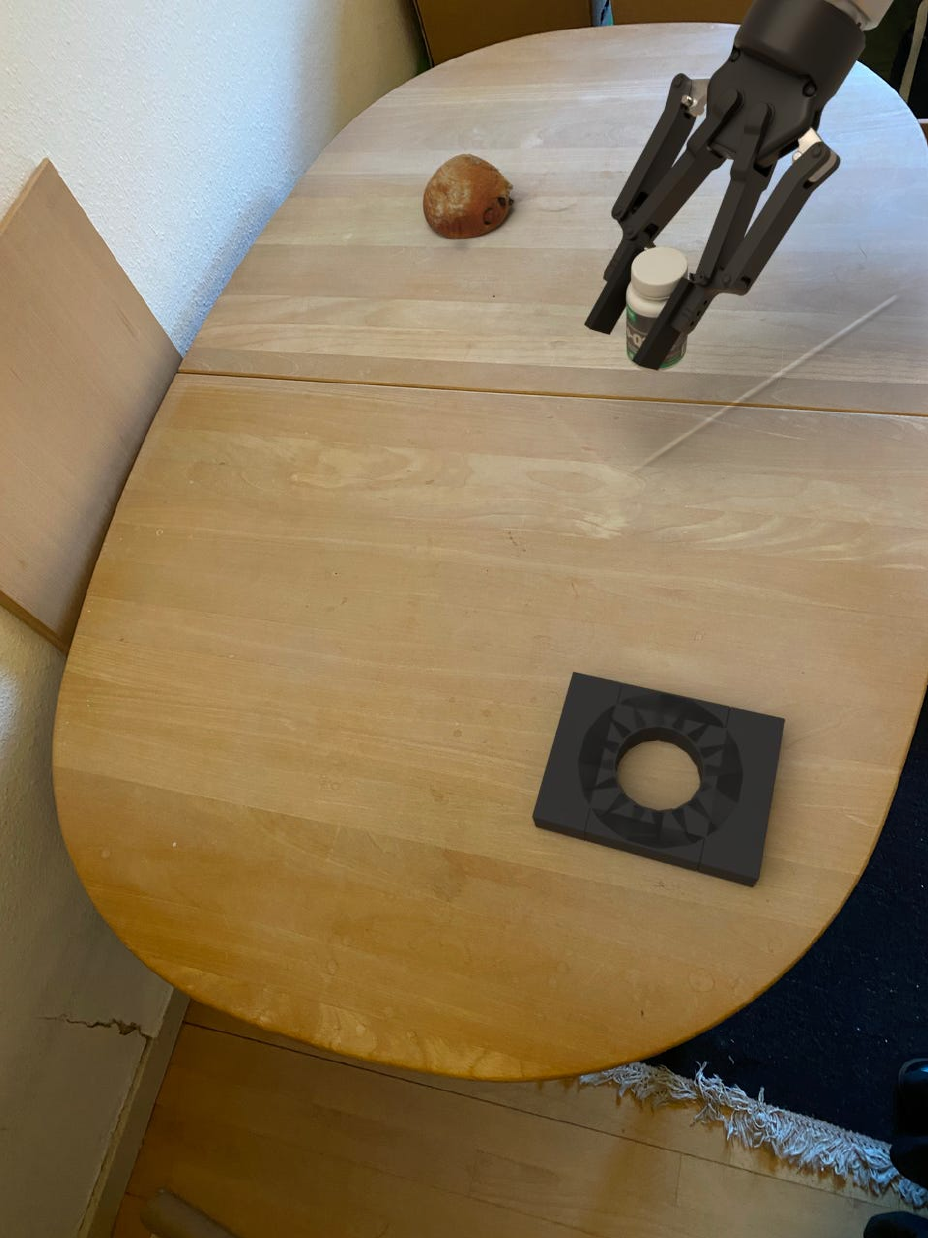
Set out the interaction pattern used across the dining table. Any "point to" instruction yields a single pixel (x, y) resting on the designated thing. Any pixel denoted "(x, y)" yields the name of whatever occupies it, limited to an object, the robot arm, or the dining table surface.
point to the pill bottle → (653, 299)
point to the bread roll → (466, 198)
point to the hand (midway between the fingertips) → (620, 346)
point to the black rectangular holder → (684, 836)
